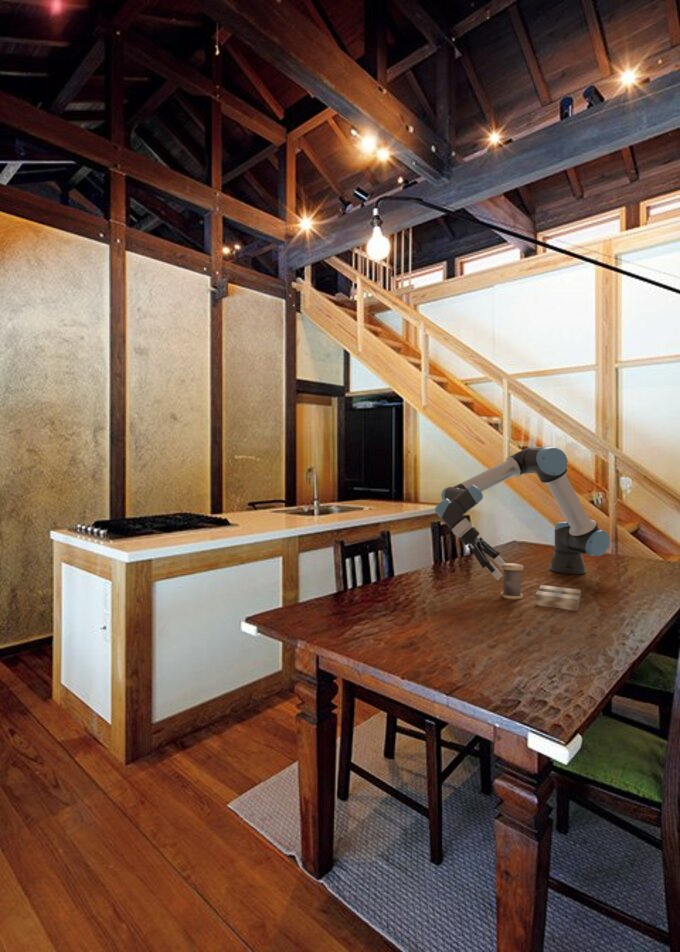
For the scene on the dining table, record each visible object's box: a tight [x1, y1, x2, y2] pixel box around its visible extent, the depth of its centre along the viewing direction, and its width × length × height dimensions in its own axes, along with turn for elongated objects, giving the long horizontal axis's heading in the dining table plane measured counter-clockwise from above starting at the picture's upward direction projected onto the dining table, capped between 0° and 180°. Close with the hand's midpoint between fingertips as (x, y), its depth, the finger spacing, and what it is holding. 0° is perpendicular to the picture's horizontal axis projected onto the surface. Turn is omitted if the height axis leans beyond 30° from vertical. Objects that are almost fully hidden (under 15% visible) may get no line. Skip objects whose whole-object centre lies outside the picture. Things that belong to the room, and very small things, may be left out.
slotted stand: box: [534, 584, 582, 612], centre depth 184 cm, size 14×14×4 cm
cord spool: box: [500, 562, 524, 600], centre depth 192 cm, size 8×8×12 cm
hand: (504, 574), depth 193 cm, fingers open, 13 cm apart
